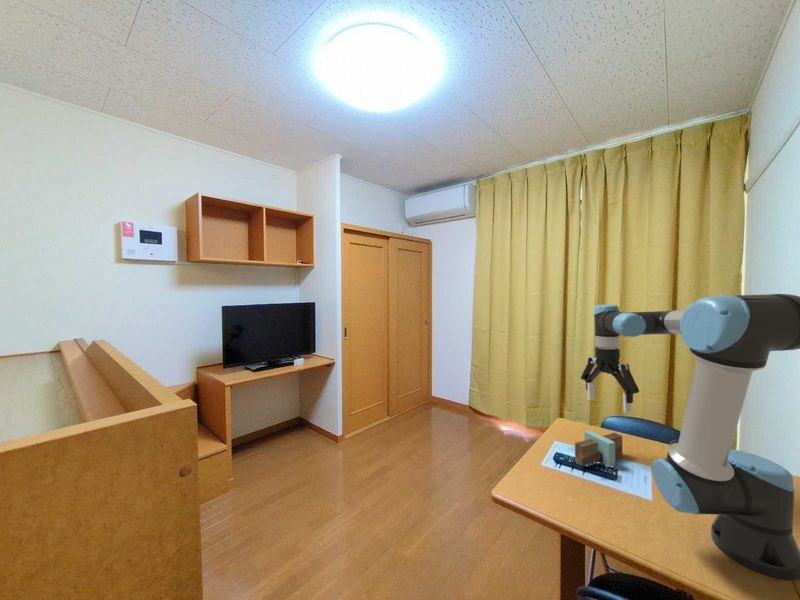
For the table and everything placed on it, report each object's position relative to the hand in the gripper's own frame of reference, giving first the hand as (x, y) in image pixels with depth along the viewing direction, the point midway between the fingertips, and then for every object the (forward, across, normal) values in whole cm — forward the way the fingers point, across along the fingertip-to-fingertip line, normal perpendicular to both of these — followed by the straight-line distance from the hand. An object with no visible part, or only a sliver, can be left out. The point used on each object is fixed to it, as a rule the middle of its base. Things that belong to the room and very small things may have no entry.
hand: (608, 405), depth 116 cm
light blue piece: (+22, +3, +1) cm, 22 cm away
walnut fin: (+22, +3, +1) cm, 22 cm away
